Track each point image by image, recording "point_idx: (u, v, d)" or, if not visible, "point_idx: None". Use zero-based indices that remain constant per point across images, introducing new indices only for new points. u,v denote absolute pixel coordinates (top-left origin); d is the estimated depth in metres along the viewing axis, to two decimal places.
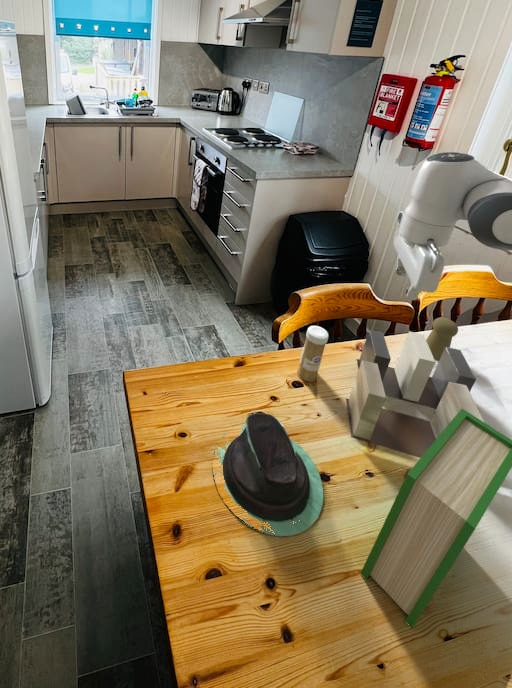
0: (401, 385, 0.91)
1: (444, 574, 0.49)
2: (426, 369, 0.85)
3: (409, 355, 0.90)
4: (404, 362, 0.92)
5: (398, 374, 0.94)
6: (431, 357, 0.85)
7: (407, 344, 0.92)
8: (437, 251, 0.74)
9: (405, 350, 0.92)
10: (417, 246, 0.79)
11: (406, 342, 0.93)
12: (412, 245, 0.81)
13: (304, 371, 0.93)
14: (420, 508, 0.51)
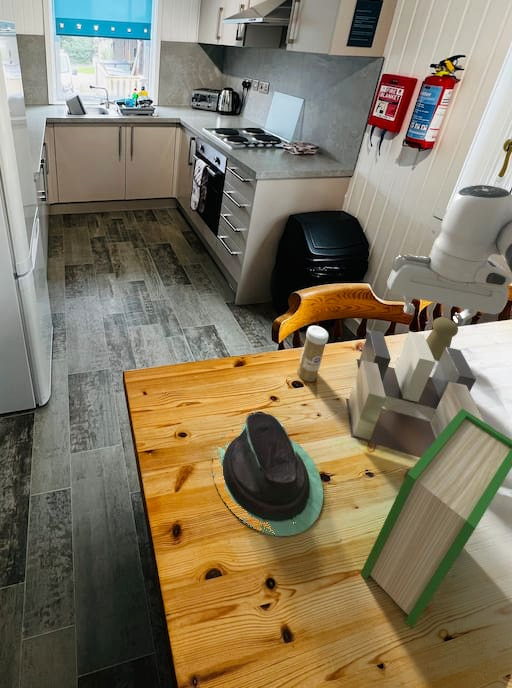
0: (401, 385, 0.91)
1: (444, 574, 0.49)
2: (426, 369, 0.85)
3: (409, 355, 0.90)
4: (404, 362, 0.92)
5: (398, 374, 0.94)
6: (431, 357, 0.85)
7: (407, 344, 0.92)
8: (404, 255, 0.82)
9: (405, 350, 0.92)
10: None
11: (406, 342, 0.93)
12: None
13: (304, 371, 0.93)
14: (420, 508, 0.51)
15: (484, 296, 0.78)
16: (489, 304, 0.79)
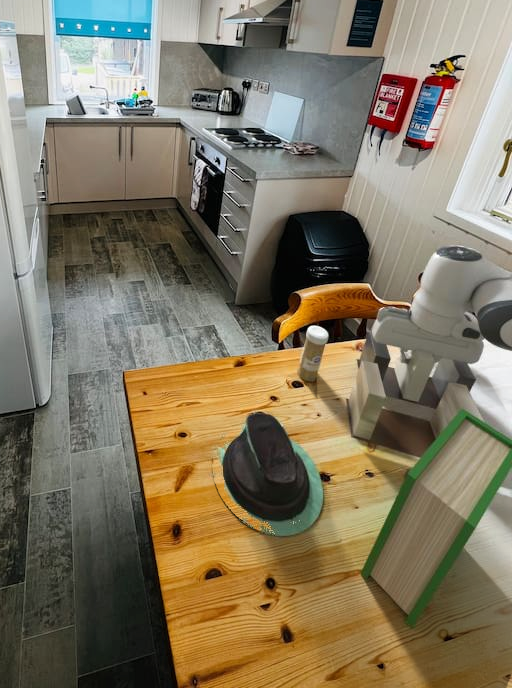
0: (401, 385, 0.91)
1: (444, 574, 0.49)
2: (426, 369, 0.85)
3: (409, 355, 0.90)
4: None
5: (398, 374, 0.94)
6: (431, 357, 0.85)
7: None
8: (387, 307, 0.87)
9: None
10: None
11: None
12: None
13: (304, 371, 0.93)
14: (420, 508, 0.51)
15: (461, 347, 0.83)
16: (465, 355, 0.84)
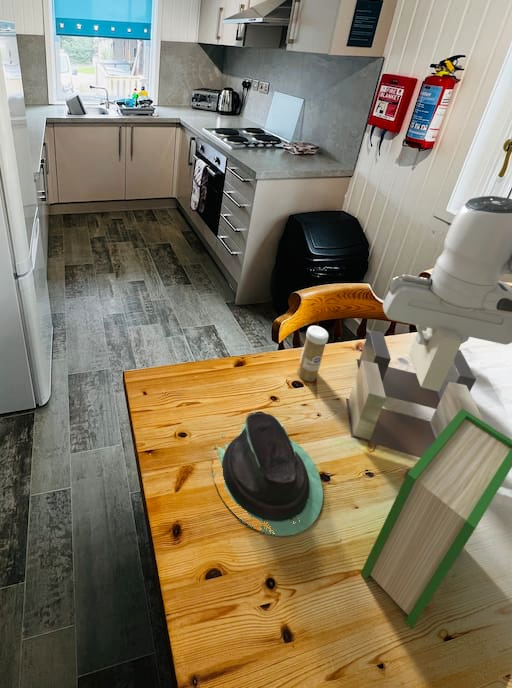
0: (418, 371, 0.76)
1: (444, 574, 0.49)
2: (450, 351, 0.69)
3: (429, 335, 0.74)
4: None
5: (414, 359, 0.78)
6: (456, 336, 0.69)
7: None
8: (402, 275, 0.72)
9: None
10: None
11: None
12: None
13: (304, 371, 0.93)
14: (420, 508, 0.51)
15: (494, 324, 0.68)
16: (499, 333, 0.68)
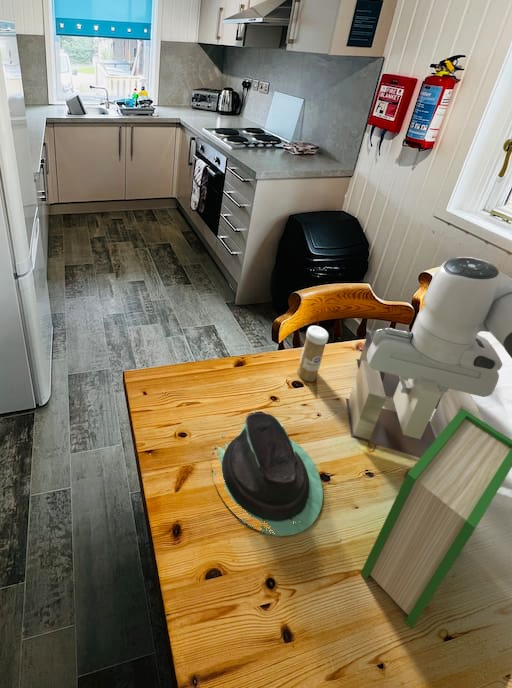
0: (401, 418, 0.79)
1: (444, 574, 0.49)
2: (430, 402, 0.72)
3: (410, 384, 0.77)
4: None
5: (398, 405, 0.81)
6: (436, 388, 0.72)
7: None
8: None
9: None
10: None
11: None
12: None
13: (304, 371, 0.93)
14: (420, 508, 0.51)
15: (472, 378, 0.71)
16: (477, 387, 0.71)
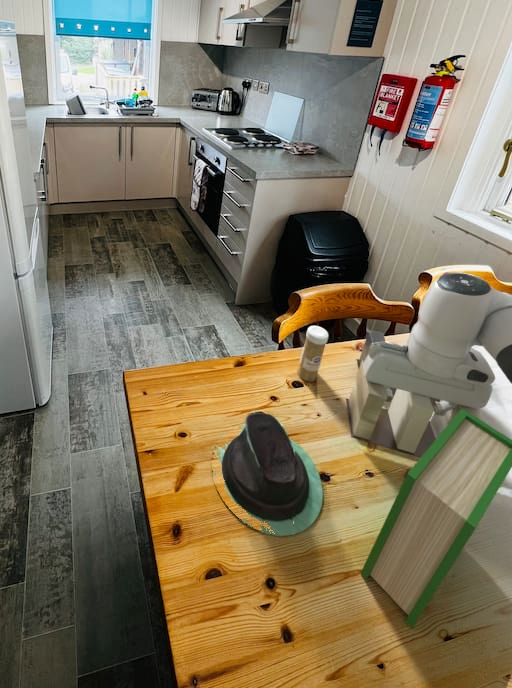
0: (395, 432, 0.80)
1: (444, 574, 0.49)
2: (423, 418, 0.74)
3: (404, 399, 0.78)
4: (399, 406, 0.81)
5: (392, 418, 0.83)
6: (429, 404, 0.74)
7: None
8: (380, 341, 0.76)
9: (400, 392, 0.81)
10: None
11: None
12: None
13: (304, 371, 0.93)
14: (420, 508, 0.51)
15: (466, 390, 0.72)
16: (471, 399, 0.72)
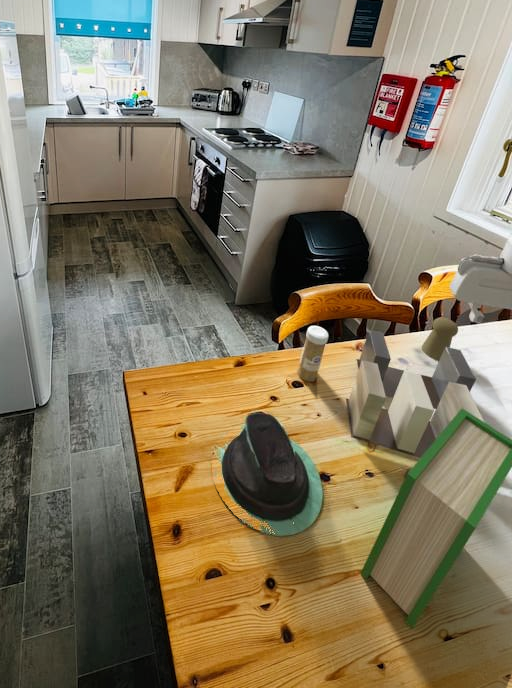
0: (395, 432, 0.80)
1: (444, 574, 0.49)
2: (423, 418, 0.74)
3: (404, 399, 0.78)
4: (399, 406, 0.81)
5: (392, 418, 0.83)
6: (429, 404, 0.74)
7: (401, 385, 0.81)
8: (472, 256, 0.72)
9: (400, 392, 0.81)
10: None
11: (401, 382, 0.81)
12: None
13: (304, 371, 0.93)
14: (420, 508, 0.51)
15: None
16: None
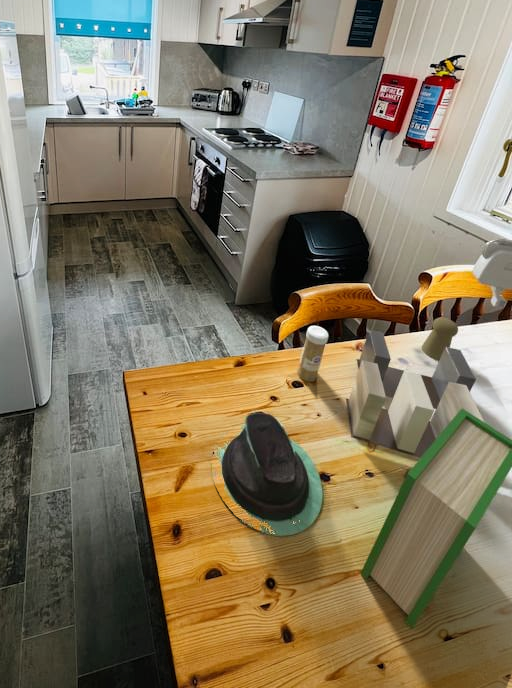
0: (395, 432, 0.80)
1: (444, 574, 0.49)
2: (423, 418, 0.74)
3: (404, 399, 0.78)
4: (399, 406, 0.81)
5: (392, 418, 0.83)
6: (429, 404, 0.74)
7: (401, 385, 0.81)
8: (497, 239, 0.72)
9: (400, 392, 0.81)
10: None
11: (401, 382, 0.81)
12: None
13: (304, 371, 0.93)
14: (420, 508, 0.51)
15: None
16: None
